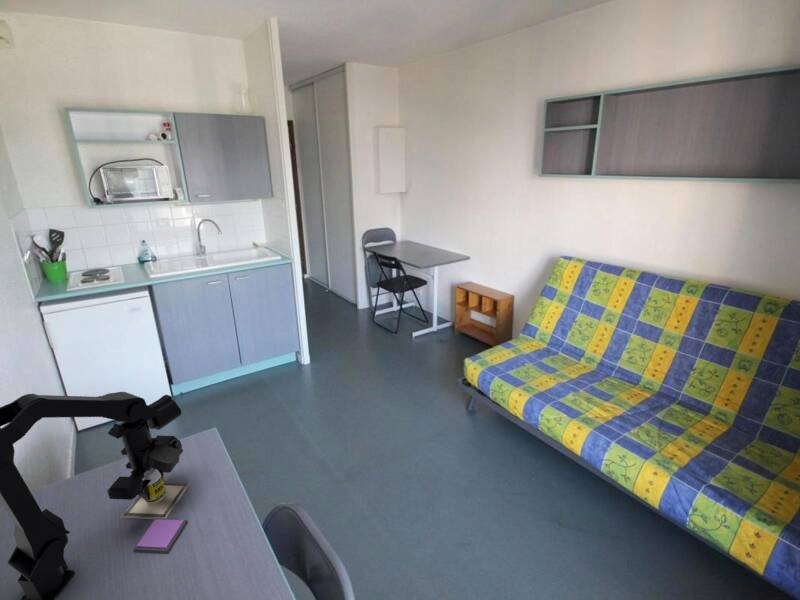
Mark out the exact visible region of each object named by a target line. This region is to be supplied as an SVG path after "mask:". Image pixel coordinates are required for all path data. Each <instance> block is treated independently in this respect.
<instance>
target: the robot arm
mask: <svg viewBox="0 0 800 600" xmlns="http://www.w3.org/2000/svg"><path fill="white" fill-rule="evenodd" d="M181 415H182V409H181V407H179V405H178V404H177V402H176V401H175V400H173V396H172V395H169V394H164V395H162V396H161V397H160V398H158V399H157V400H155V401H153V402H152V403H150V404H147V402H146V400H145V399H144V398H142V397H140V396H138V395H135V394H132V393H129V392H127V391H119V392H110V393H106V394H104V395H99V396H87V395H85V396H82V395H81V396H79V395H78V396H77V395H50V394H49V395H46V394H37V393H27V394H24V395H22V396H20V397H18V398H17V399H15V400H13V401H11V402H10V403H6V404H4V405H3V406H2V405H1V406H0V503H1V505H2V507H3V509H4V511H5V512H6V513H7V514H8V517H9V518H10V520H11V521H12V522H13V525H14V532H13V536H14V539H15V540H14V541H15V544H16V546H15V548H14V550H13V552H12V553H11V556H10V557H9V559H8V561H7V565H9V567H11V568H12V569H14V570H15V571H16V572H18V573H19V574H20V577H19V578H18V579H17V582H18V583H19V585H20V587H21V589H22V591H23V593H24V595H23V596H21V598H20V600H55V598H56V597H57V596H58V595H59V594H60V592H61V591H62V590H63V589H64V588H65V586H66V585H67V584H68V582H69V581H70V580H71V579H72V578H73V577H74V575H75V574H76V572H75V570H72V569H69V566H68V564H67V562H66V559H65V557H64V555H65V548H66V545H68V543H69V538H68V537H69V536H68V534H70V533H71V531H69V530H68V529H66V527H65V524H64V521H63V519H62V518H61V517H60V516H58V515H57V514H55V513H54V512H52V511H50V509H48V508H45V509H44V510H42V508H40V506H39V504H38V502H37V501H36V499H35V497H34V495H33V494H32V492H31V490H30V488H29V487H28V485H27V484H26V482H25V479H24V478H23V476H22V475H21V473H20V471H19V468H17V466H16V465H15V464H16V463H15V461H14V460H15V447H14V444H15V443H17V442H18V441H19V440H22V439H23V438H24V436H26V435H27V433H28V432H29V431H30V430H31V429H32V428H33V426H34V425H36V423H38V422H39V421H40V420H42V419H44V418H45V419H47V418H48V419H49V418H54V419H55V418H105V419H108V420H113V421H117V422H121V423H114V424H113V426H112V427H111V428H110V429H109V431H108V433H107V435H109V436H111V437H113V438H115V439H121V441H122V445H123V447H124V448H123V449H121V450H120V453H121V455H122V456H127V460H128V462H127V463H126V464H125V467H126V469H127V470H128V469H129V470H130V469H131V471H130V475H129V476H118V478H117V479H116V480H115V481H114V482H113V483H112V484H111V485H110V487H109V488H108V489H107V490H106V492H107V495H108V498H109V500H125V501H126V500H131V501H132V500H134V499H136V498H137V497H138V496H140V497H142V498H143V499H144V500H150V493H149V489H148V484H149V482H150V481H151V480H146V479H145V475H144V474H145V473H146V472H147V471H150V470H151V468H154V469H157V470H158V471H159V472H160V473H161V476H162V480H163V481H164V473H166V474H169V473H171V472H172V471H173V470H174V468H175V467H176V465H177V464H179V463H180V456H181V455H182V453H184V449H183V445H182V442H181V440H180V439H178V437H177V436H175V435H157V436H156V437H153V436H152V433H151V430H153V429H155V430H158V431H159V430H161V429H163V428H164V427H166V426H168V425H169V424H171V423H172V422H174V421H175V420H177V419H178V418H180V417H181ZM2 426H3V427H2ZM150 429H151V430H150Z"/></svg>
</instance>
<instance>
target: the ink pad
mask: <svg viewBox="0 0 800 600" xmlns="http://www.w3.org/2000/svg"><path fill="white" fill-rule="evenodd" d="M188 523H189V522H188V519H174V518H173V519H172V518H171V519H169V518H166V519H153V521H152V522H151V524H150V525H149V527H148V528H147V529H146V531H145V532H144V533H143V535H142V536H141V538H140V539H139V540H138V541H137V543H136V544H135V546H134V547H133V549H132V551H133V552H135V553H149V554H150V553H151V554H152V553H153V554H169V553H170V551H171V549H173V547H174V545H175V544H176V542H177V541H178V539H179V538H180V535H181V534H182V533H183V531H184V529H185V527H186V526H187V525H188Z"/></svg>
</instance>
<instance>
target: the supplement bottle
mask: <svg viewBox="0 0 800 600" xmlns="http://www.w3.org/2000/svg"><path fill="white" fill-rule="evenodd" d="M144 475H145V479H146V480H151V481H150V482H149V484H148V489H149V493H150V500H145V501H146V502H147V503H149V504H152V503H156V502H159V501H160V500H162V499H163V498H164V497H165V495H166V489H165V486H164V483H163V482H164V479H163V480H162V476H161V473H160V472H159V471H158V470H157V469H154V468H151V470H150V471H147V472H146V473H145V474H144Z"/></svg>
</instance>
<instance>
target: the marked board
mask: <svg viewBox="0 0 800 600" xmlns="http://www.w3.org/2000/svg"><path fill="white" fill-rule="evenodd" d="M163 483H164V486H165V489H166V495H165V497H164V498H163V499H162V500H160V501H159V502H156V503H152V504H149V503H147V502H146V501H145V500H144V499H143V498H142V497H140V496H139V495H137V496H136V497H135V498H134V499H135V500H133V502H132V503H131V505H130V506H129V507H128V508H127V509H126V510H125V512H124V513H123V514H122V515H121V518H122V519H141V520H142V519H144V520H155V519H168V516H169V515H170V513H171V512H172V510H173V509H174V508H175V507H176V504H177V503H178V502H179V501H180V499H181V498H182V497H183V495H184V493H185V491H186V490H187V489H188V488H189V486H190V482H173V481H171V482H166V481H163Z"/></svg>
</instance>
